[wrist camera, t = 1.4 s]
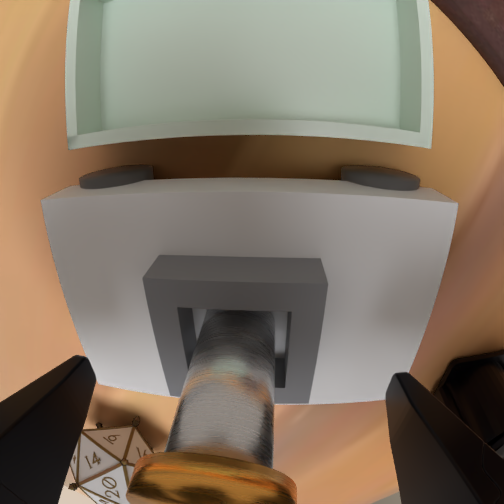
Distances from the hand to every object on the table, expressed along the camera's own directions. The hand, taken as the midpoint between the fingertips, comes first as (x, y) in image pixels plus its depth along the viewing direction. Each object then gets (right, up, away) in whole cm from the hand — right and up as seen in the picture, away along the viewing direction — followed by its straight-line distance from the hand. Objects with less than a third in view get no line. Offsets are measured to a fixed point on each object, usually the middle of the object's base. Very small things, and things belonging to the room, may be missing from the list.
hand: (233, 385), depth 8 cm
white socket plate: (0, +3, +6) cm, 7 cm away
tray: (0, +11, +2) cm, 12 cm away
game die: (-10, -11, +13) cm, 20 cm away
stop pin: (0, +1, +2) cm, 3 cm away
